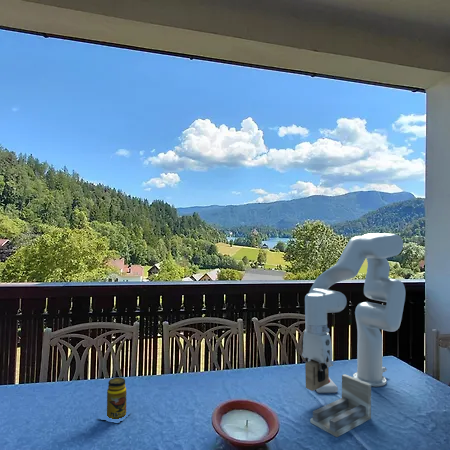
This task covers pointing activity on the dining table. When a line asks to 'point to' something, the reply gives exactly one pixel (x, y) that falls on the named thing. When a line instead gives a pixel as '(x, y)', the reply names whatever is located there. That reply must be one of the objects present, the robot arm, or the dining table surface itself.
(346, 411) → the track
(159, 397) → the dining table surface
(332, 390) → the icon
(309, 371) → the door
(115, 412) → the condiment
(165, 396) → the dining table surface
